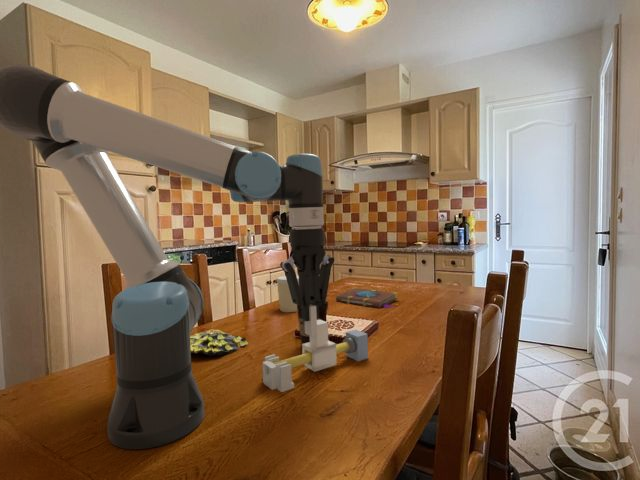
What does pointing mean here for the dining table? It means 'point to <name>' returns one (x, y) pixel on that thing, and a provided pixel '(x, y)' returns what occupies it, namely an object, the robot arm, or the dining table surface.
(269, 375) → the slide rail
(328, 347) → the sliding rod carriage
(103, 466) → the dining table surface
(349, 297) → the book
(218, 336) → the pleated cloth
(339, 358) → the dining table surface
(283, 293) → the coffee cup
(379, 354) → the dining table surface
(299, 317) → the coffee cup
